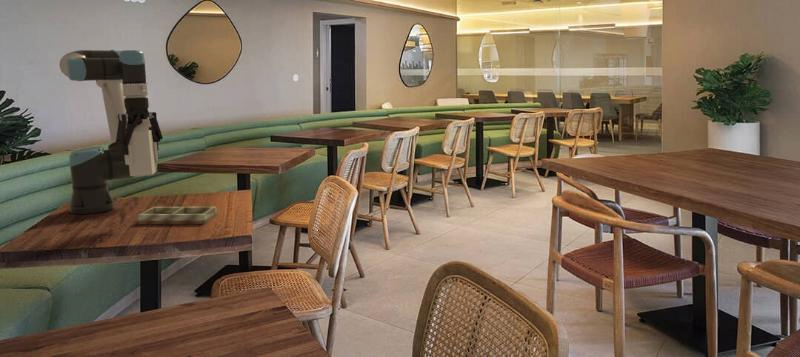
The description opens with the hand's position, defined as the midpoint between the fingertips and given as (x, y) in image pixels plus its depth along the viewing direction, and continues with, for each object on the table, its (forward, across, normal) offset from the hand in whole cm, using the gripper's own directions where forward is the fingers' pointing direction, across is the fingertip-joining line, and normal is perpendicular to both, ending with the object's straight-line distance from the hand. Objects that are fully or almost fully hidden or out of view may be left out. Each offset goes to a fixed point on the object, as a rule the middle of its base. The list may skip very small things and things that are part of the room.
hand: (142, 162), depth 205 cm
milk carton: (+4, 0, 0) cm, 4 cm away
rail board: (+21, +6, -9) cm, 23 cm away
